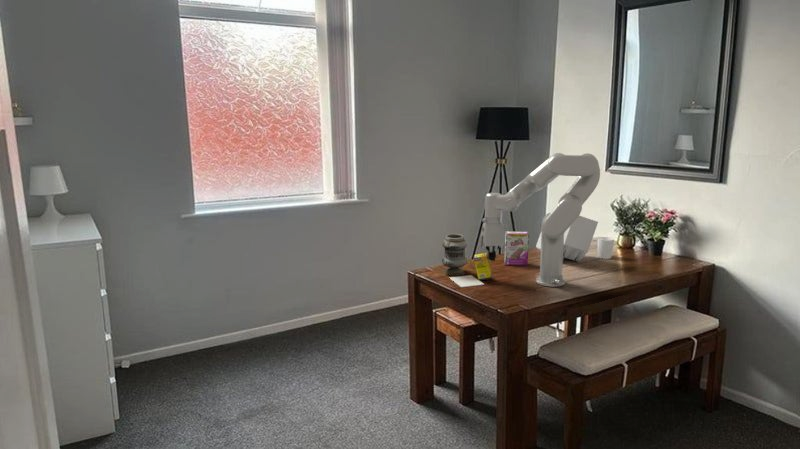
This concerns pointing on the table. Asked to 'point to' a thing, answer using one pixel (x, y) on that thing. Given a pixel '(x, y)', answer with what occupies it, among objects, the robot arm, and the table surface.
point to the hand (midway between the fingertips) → (491, 259)
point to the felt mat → (466, 281)
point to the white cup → (605, 247)
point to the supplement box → (482, 266)
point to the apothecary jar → (454, 254)
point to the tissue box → (576, 238)
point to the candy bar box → (516, 248)
